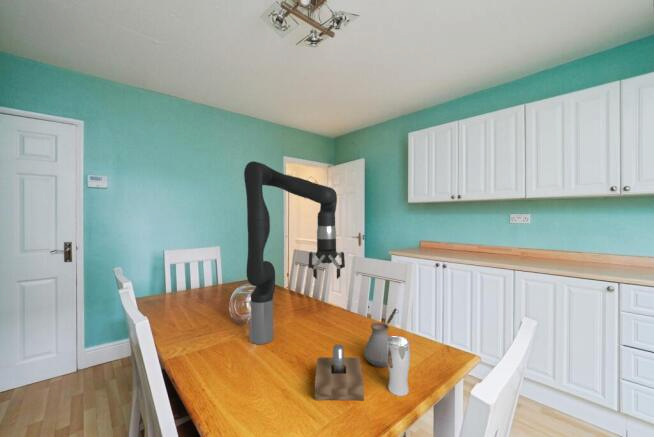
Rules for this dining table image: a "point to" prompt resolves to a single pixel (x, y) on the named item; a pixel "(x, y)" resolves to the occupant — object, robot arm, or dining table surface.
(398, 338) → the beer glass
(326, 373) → the bore block
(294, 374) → the dining table surface
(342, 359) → the pin
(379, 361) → the coffee pot
